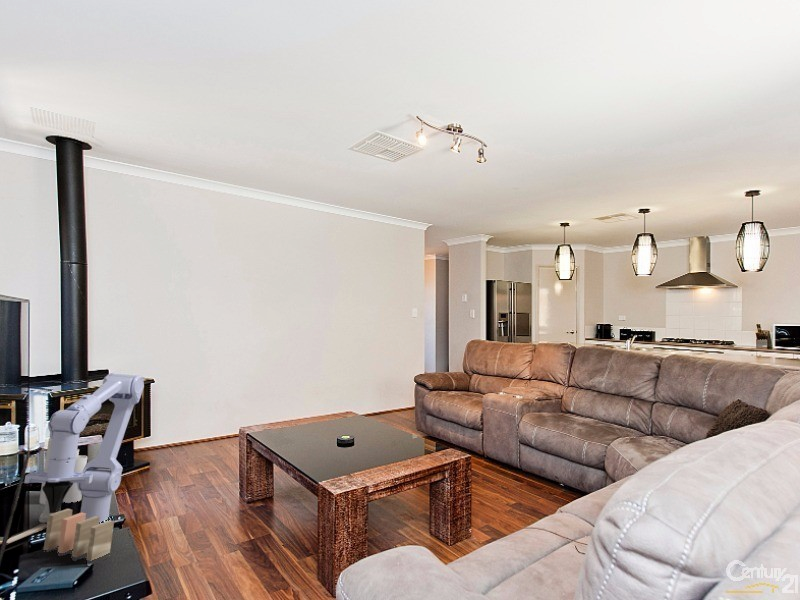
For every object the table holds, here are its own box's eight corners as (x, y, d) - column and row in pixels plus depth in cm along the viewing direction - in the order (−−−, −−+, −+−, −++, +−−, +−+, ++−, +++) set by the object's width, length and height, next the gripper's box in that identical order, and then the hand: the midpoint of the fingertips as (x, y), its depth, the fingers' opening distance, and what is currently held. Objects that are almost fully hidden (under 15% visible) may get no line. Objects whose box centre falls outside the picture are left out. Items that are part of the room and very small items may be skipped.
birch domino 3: (85, 565, 110) (91, 527, 111) (104, 556, 115) (109, 520, 116) (90, 566, 110) (95, 528, 111) (109, 557, 115) (114, 521, 115)
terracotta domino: (57, 555, 114) (62, 518, 114) (76, 547, 118) (81, 512, 119) (61, 557, 113) (67, 520, 114) (80, 548, 118) (86, 513, 119)
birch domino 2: (71, 560, 112) (76, 523, 113) (90, 551, 117) (95, 516, 118) (75, 561, 112) (81, 524, 112) (94, 553, 116) (99, 517, 117)
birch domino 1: (43, 551, 115) (48, 514, 116) (63, 543, 120) (68, 508, 121) (47, 552, 115) (53, 516, 115) (67, 544, 119) (72, 509, 120)
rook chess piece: (37, 519, 132) (41, 491, 133) (56, 516, 135) (60, 488, 136) (39, 524, 129) (43, 496, 130) (58, 521, 132) (62, 493, 133)
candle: (37, 505, 141) (47, 441, 143) (41, 497, 148) (50, 436, 149) (80, 501, 147) (89, 439, 149) (82, 494, 153) (91, 434, 155)
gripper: (21, 460, 111) (12, 517, 109) (87, 462, 114) (79, 517, 113) (36, 453, 117) (28, 507, 116) (98, 454, 121) (91, 506, 119)
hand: (54, 511), depth 115 cm, fingers closed
